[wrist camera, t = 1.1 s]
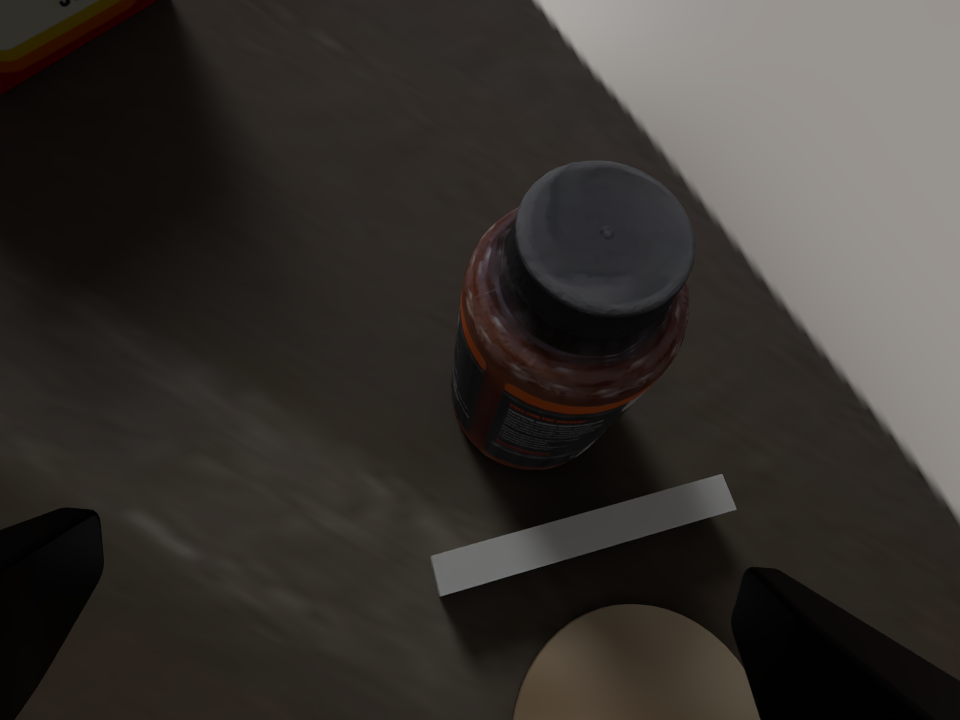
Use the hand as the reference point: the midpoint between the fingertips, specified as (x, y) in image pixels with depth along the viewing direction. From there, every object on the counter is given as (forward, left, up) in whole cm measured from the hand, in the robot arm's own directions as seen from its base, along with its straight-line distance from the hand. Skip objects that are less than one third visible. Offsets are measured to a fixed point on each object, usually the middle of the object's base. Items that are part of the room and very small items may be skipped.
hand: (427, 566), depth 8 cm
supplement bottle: (+7, -3, -13) cm, 15 cm away
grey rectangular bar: (+2, -5, -13) cm, 14 cm away
